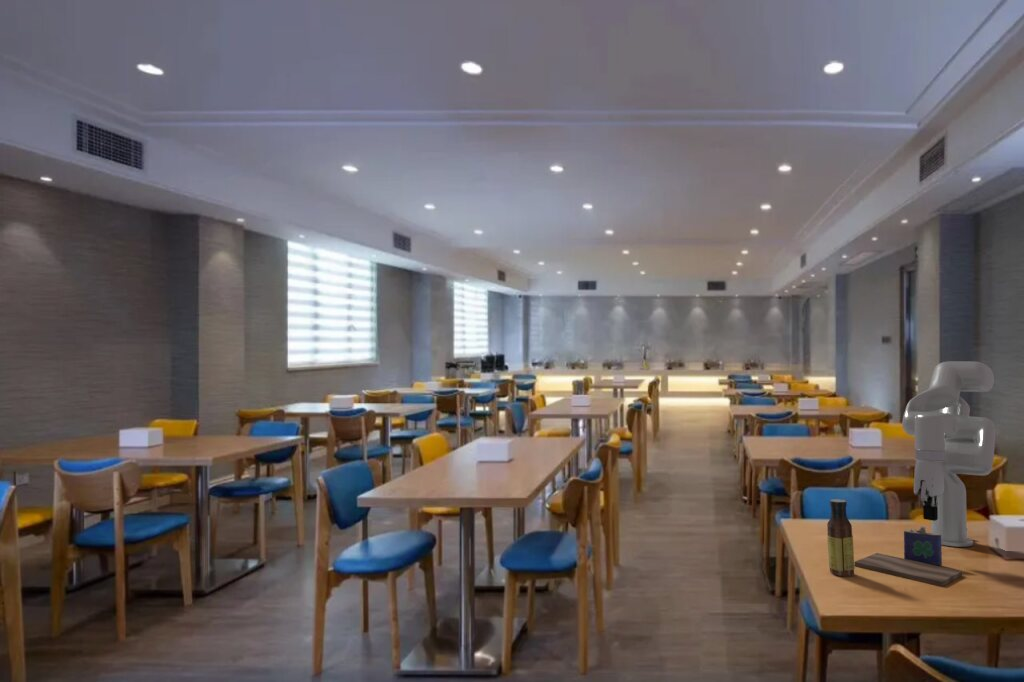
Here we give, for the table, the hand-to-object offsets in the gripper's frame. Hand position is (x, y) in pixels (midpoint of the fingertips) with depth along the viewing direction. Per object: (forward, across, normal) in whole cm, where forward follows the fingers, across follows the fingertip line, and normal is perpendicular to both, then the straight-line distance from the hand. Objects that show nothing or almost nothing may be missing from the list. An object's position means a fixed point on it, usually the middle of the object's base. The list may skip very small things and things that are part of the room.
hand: (930, 519), depth 196 cm
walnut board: (+12, +16, 0) cm, 20 cm away
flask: (+12, +6, 0) cm, 13 cm away
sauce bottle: (+13, +33, -10) cm, 37 cm away
